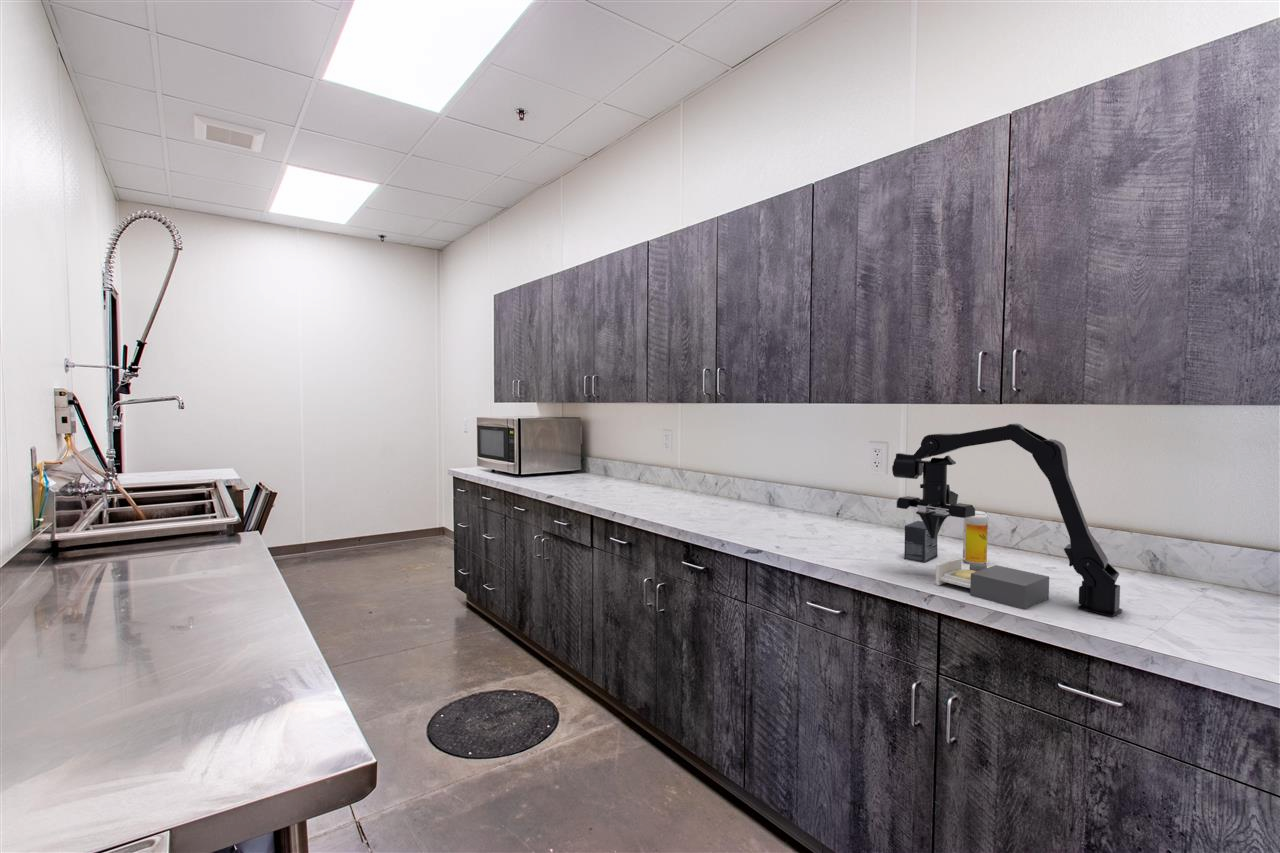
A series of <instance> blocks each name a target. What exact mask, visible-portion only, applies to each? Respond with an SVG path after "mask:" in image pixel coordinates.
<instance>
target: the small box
mask: <svg viewBox="0 0 1280 853" xmlns="http://www.w3.org/2000/svg"><path fill="white" fill-rule="evenodd" d="M903 555H904V560H906V559H907V560H908V561H912V562H918V563H924V564H926V563H928V562H930V561H931V560H933V559H935V558H937V557H938V536H937V537H936V539H932V538H931V537H930V534H929V532H928V530H927V528H926V526H925V524H924V522H923V520H916V521H914V522H911V523H908V524H906V525H904V554H903Z"/></svg>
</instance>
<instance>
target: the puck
mask: <svg viewBox="0 0 1280 853" xmlns="http://www.w3.org/2000/svg"><path fill="white" fill-rule="evenodd" d="M986 568H988V565H986V564H980V563H970V564H969V570H973V571H980V570H983V569H986Z"/></svg>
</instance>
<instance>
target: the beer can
mask: <svg viewBox="0 0 1280 853" xmlns="http://www.w3.org/2000/svg"><path fill="white" fill-rule="evenodd" d="M988 520H989V518H988V515H987V512H986V511H982V510H981V511H980V510H975V516H971V517H967V518H963V534H962V535H963V537H962V538H963V539H962V540H963V544H962V548H963V549H962V559H963V560H964V562H965V563H966V564H969V563H980V564H984V565H986V564H985V563H987V560H988V556H987V555H988V528H989V527H988V523H989V522H988Z"/></svg>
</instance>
